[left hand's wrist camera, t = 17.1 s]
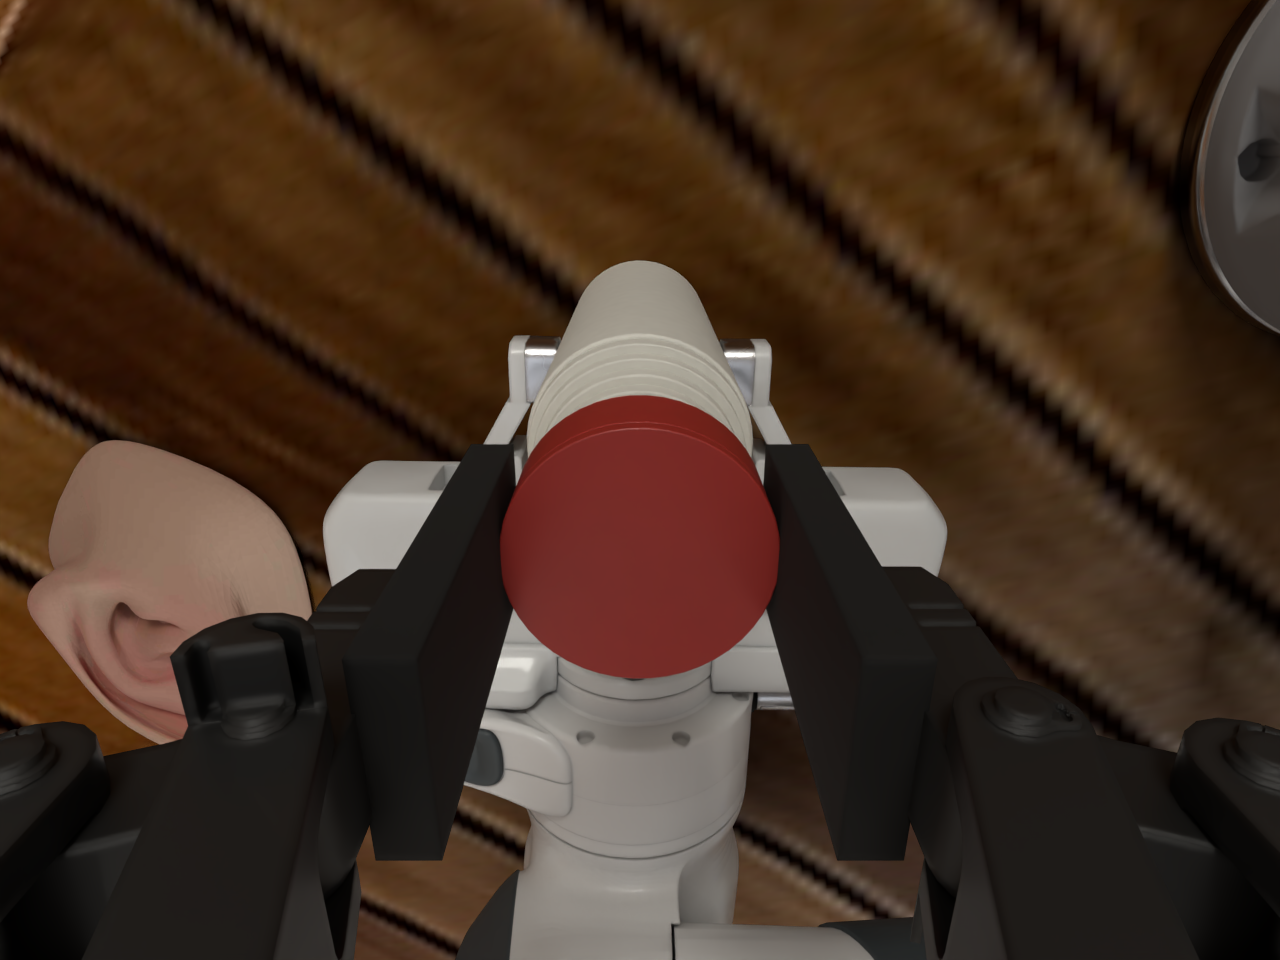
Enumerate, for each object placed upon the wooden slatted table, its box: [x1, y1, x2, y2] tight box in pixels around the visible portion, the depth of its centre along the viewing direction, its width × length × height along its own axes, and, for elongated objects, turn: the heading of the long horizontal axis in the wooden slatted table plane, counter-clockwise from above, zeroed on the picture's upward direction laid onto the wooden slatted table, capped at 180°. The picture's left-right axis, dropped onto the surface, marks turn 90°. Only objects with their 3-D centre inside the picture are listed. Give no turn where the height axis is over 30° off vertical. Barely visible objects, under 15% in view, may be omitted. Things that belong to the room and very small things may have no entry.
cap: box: [500, 395, 780, 679], centre depth 13 cm, size 5×5×2 cm
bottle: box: [527, 261, 753, 458], centre depth 22 cm, size 5×5×19 cm
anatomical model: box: [27, 440, 312, 744], centre depth 33 cm, size 13×4×12 cm
